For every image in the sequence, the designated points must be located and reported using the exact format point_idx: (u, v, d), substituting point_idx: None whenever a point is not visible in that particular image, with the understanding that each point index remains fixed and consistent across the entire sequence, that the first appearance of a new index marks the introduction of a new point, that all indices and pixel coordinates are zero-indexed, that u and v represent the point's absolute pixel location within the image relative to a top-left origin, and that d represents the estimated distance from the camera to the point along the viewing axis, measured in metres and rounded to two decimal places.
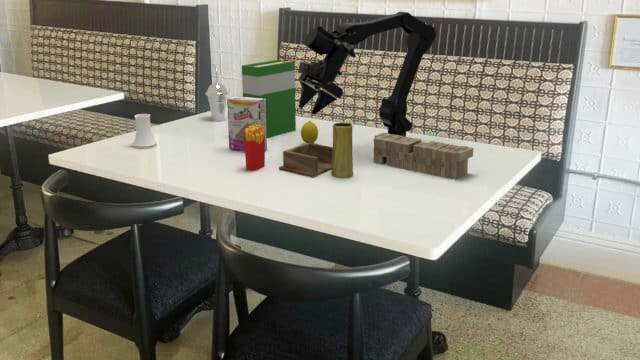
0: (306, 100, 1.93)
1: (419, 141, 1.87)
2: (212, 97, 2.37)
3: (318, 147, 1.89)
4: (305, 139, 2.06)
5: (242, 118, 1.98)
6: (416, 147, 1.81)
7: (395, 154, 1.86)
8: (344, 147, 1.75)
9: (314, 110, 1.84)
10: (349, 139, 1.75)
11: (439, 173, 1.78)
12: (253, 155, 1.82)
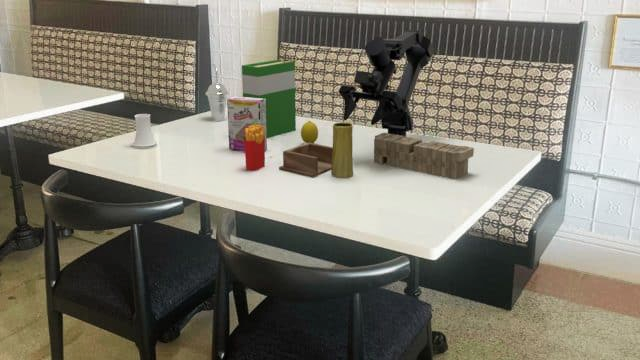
0: (349, 112, 1.86)
1: (419, 141, 1.87)
2: (212, 97, 2.37)
3: (318, 147, 1.89)
4: (305, 139, 2.06)
5: (242, 118, 1.98)
6: (416, 146, 1.81)
7: (395, 154, 1.86)
8: (344, 147, 1.75)
9: (374, 120, 1.79)
10: (349, 139, 1.75)
11: (439, 173, 1.78)
12: (253, 155, 1.82)
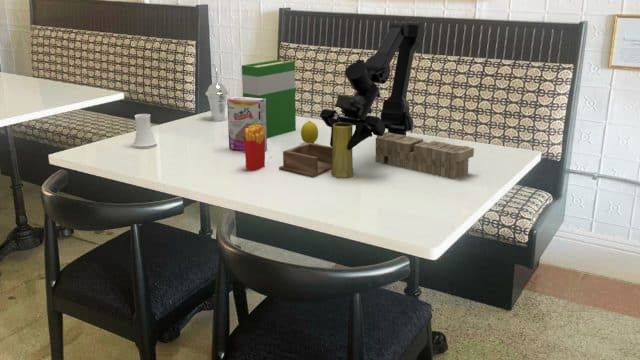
0: None
1: (420, 141, 1.87)
2: (212, 97, 2.37)
3: (318, 147, 1.89)
4: (305, 139, 2.06)
5: (242, 118, 1.98)
6: (416, 146, 1.81)
7: (396, 153, 1.86)
8: (344, 147, 1.75)
9: (350, 145, 1.75)
10: (349, 139, 1.75)
11: (439, 173, 1.79)
12: (253, 155, 1.82)
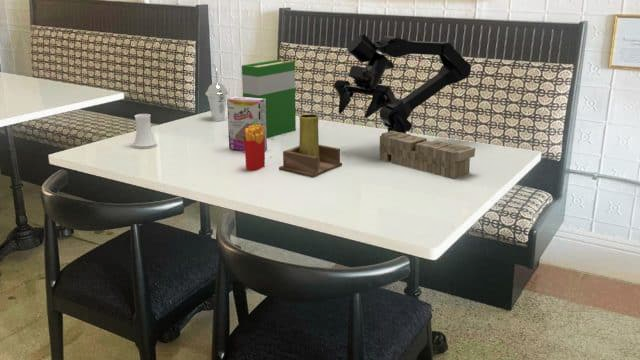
0: (344, 106, 1.93)
1: (424, 140, 1.88)
2: (212, 97, 2.37)
3: None
4: None
5: (242, 118, 1.98)
6: (418, 145, 1.82)
7: (399, 151, 1.88)
8: (310, 137, 1.81)
9: (368, 113, 1.87)
10: (315, 130, 1.81)
11: (439, 172, 1.79)
12: (253, 155, 1.82)
